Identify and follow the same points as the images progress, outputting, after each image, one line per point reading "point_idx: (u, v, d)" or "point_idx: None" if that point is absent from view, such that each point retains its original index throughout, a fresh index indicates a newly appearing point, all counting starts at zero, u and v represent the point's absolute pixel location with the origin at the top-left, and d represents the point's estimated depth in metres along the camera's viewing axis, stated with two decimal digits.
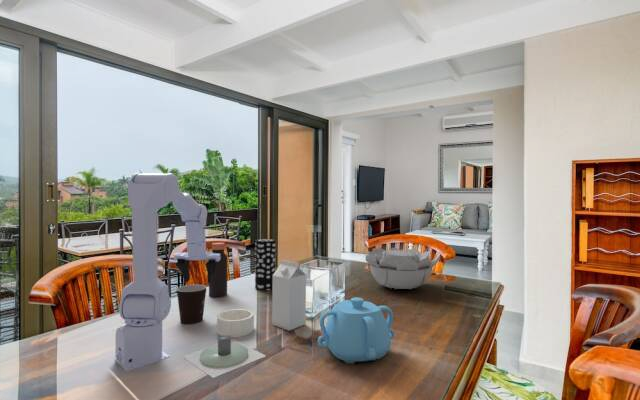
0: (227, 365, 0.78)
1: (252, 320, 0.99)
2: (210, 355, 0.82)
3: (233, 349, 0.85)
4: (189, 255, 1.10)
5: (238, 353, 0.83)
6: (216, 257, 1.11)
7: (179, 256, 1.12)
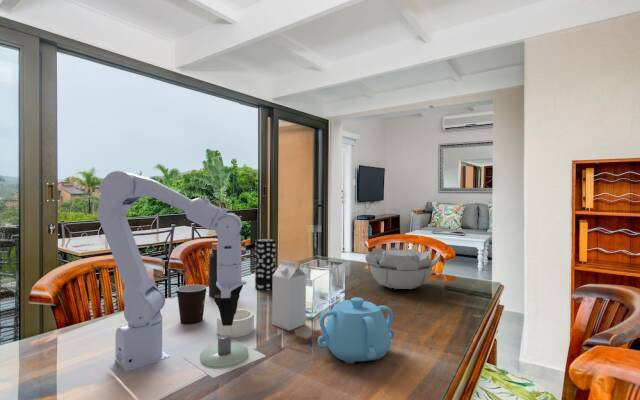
0: (227, 365, 0.78)
1: (252, 320, 0.99)
2: (210, 355, 0.82)
3: (233, 349, 0.85)
4: None
5: (238, 353, 0.83)
6: (221, 291, 0.78)
7: None
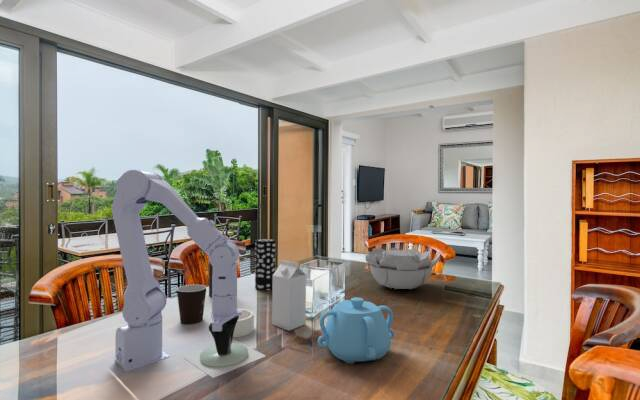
0: (227, 365, 0.78)
1: (252, 320, 0.99)
2: (210, 355, 0.82)
3: (233, 349, 0.85)
4: None
5: (238, 352, 0.83)
6: None
7: None
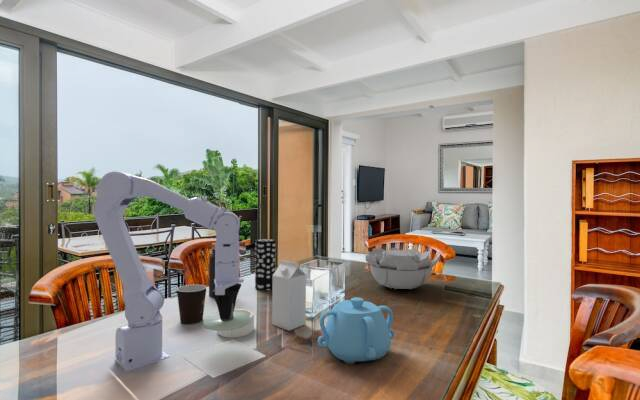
0: (230, 328, 0.81)
1: (252, 320, 0.99)
2: (213, 320, 0.85)
3: (236, 316, 0.88)
4: None
5: (241, 319, 0.86)
6: None
7: None
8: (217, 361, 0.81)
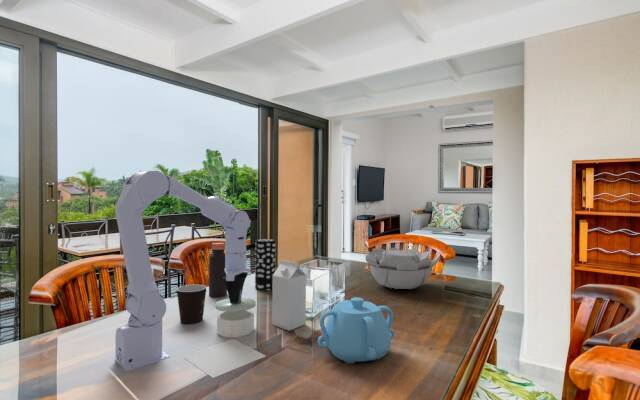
0: (239, 310, 0.94)
1: (252, 320, 0.99)
2: (224, 304, 0.98)
3: (243, 300, 1.01)
4: None
5: (248, 302, 0.99)
6: None
7: None
8: (217, 361, 0.81)
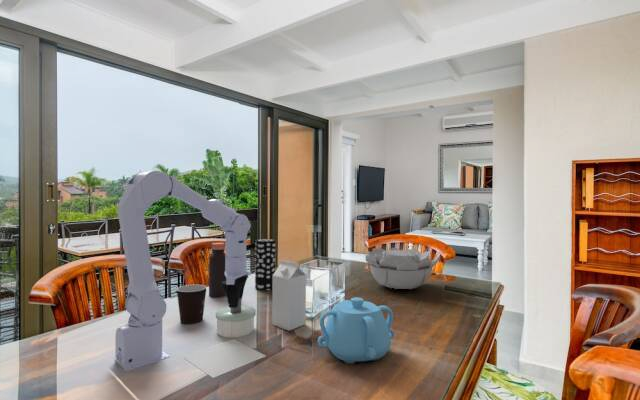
0: (239, 319, 0.95)
1: (252, 320, 0.99)
2: (224, 313, 0.98)
3: (243, 309, 1.02)
4: None
5: (248, 311, 1.00)
6: None
7: None
8: (217, 361, 0.81)
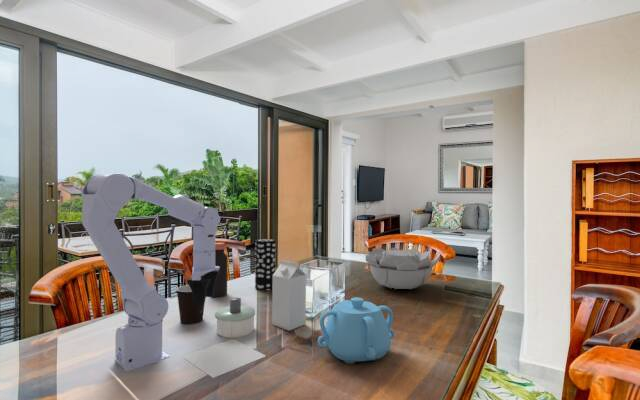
0: (238, 319, 0.95)
1: (252, 320, 0.99)
2: (223, 313, 0.98)
3: (242, 309, 1.02)
4: None
5: (247, 311, 1.00)
6: None
7: None
8: (217, 361, 0.81)
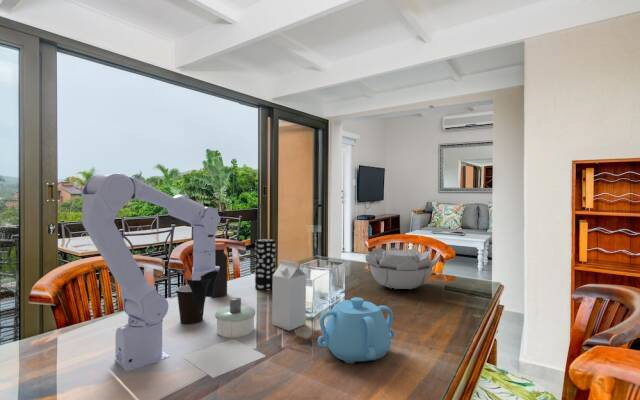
0: (238, 319, 0.95)
1: (252, 320, 0.99)
2: (223, 313, 0.98)
3: (243, 309, 1.02)
4: None
5: (247, 311, 1.00)
6: None
7: None
8: (217, 361, 0.81)
